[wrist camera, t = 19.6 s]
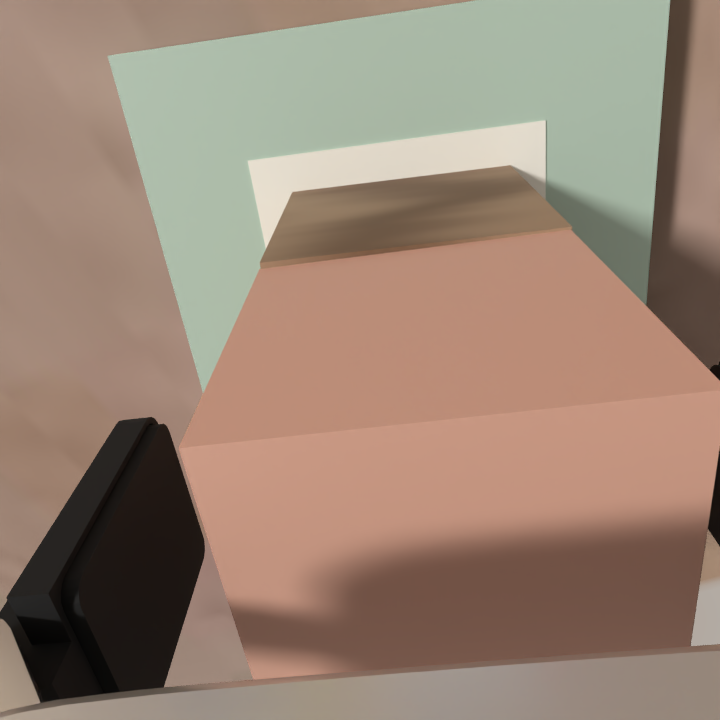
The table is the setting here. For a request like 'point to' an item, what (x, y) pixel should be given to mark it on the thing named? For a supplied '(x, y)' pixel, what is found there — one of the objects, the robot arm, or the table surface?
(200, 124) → the base plate
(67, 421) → the table surface
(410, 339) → the terracotta block
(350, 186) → the walnut block
